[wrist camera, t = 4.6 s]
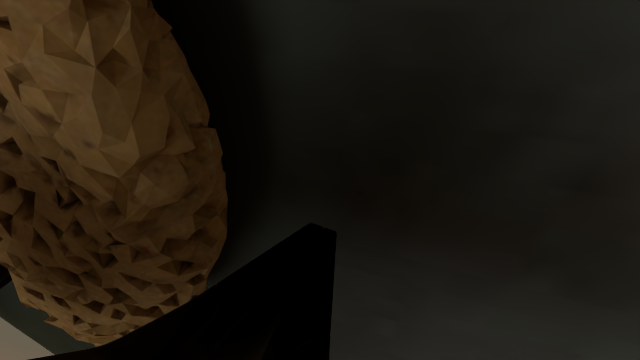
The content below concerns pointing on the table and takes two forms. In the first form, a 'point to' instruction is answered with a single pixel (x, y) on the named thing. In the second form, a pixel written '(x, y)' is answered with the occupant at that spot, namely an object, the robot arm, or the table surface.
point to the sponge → (104, 166)
